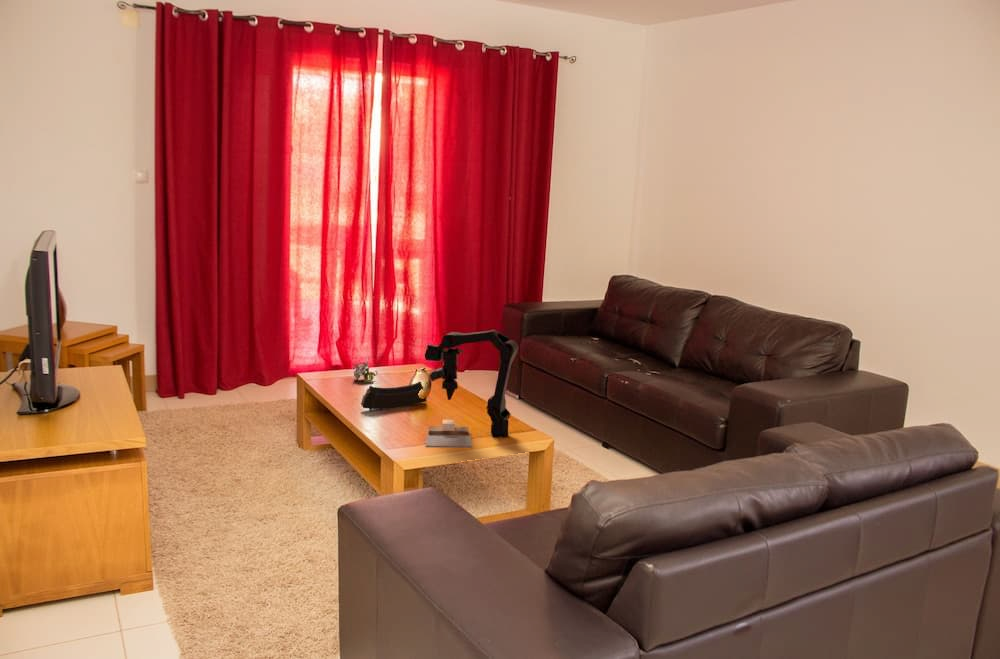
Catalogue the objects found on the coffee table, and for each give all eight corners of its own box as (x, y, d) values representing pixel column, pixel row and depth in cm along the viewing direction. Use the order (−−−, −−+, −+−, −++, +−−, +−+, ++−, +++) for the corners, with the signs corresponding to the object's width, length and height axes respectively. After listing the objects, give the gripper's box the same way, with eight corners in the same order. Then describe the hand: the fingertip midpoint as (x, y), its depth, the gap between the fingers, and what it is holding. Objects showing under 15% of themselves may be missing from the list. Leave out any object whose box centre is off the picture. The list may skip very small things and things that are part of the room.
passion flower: (356, 391, 406) (348, 369, 409) (377, 385, 410) (369, 363, 413) (360, 383, 396) (352, 361, 399) (381, 377, 401) (373, 355, 404)
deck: (467, 431, 337) (468, 426, 337) (468, 436, 331) (468, 431, 331) (428, 430, 336) (429, 426, 335) (428, 435, 330) (428, 430, 330)
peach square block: (454, 426, 336) (454, 419, 335) (454, 430, 331) (455, 423, 330) (442, 426, 335) (442, 419, 335) (442, 430, 331) (442, 423, 330)
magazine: (428, 382, 374) (370, 370, 357) (432, 384, 371) (373, 372, 354) (418, 418, 374) (359, 407, 358) (421, 420, 372) (362, 410, 355)
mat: (470, 436, 331) (470, 435, 331) (471, 447, 319) (471, 446, 319) (426, 435, 330) (426, 434, 330) (425, 446, 317) (425, 445, 317)
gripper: (430, 357, 344) (430, 392, 347) (430, 368, 326) (429, 406, 329) (457, 357, 345) (456, 393, 348) (458, 369, 327) (457, 406, 330)
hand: (449, 399), depth 339 cm, fingers closed
